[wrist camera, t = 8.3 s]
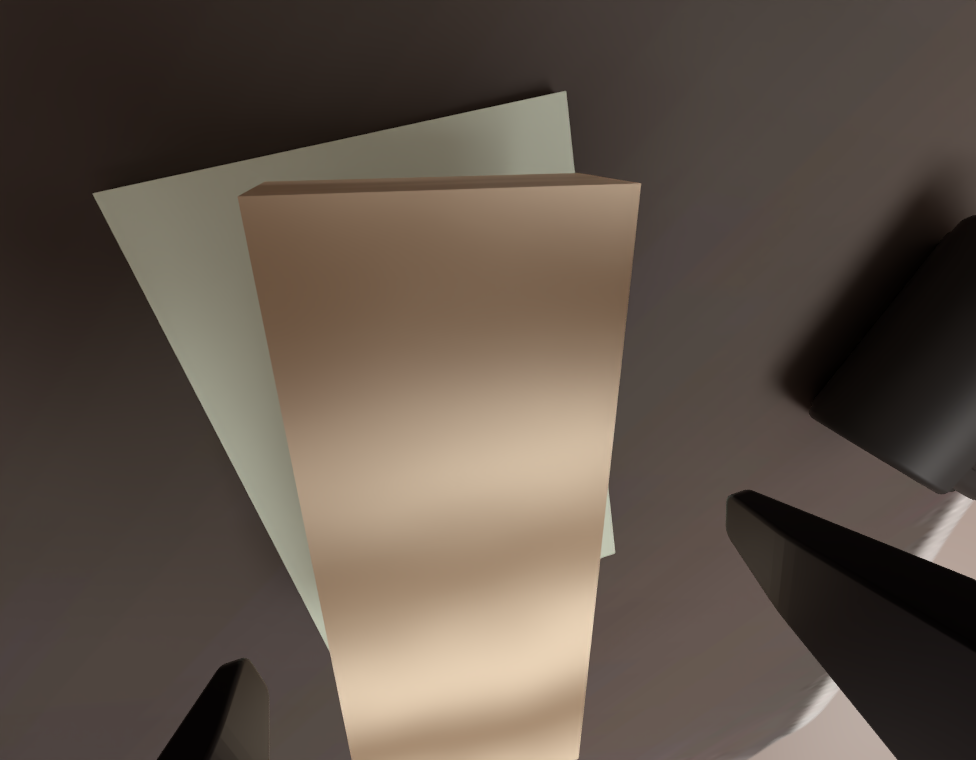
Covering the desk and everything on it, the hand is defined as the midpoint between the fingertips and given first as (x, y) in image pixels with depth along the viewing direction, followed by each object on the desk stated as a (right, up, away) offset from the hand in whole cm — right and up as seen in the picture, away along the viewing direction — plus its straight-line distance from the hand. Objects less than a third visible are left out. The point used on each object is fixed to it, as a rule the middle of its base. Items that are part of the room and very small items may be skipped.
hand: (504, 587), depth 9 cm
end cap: (+19, +6, +16) cm, 25 cm away
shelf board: (-1, 0, +6) cm, 6 cm away
